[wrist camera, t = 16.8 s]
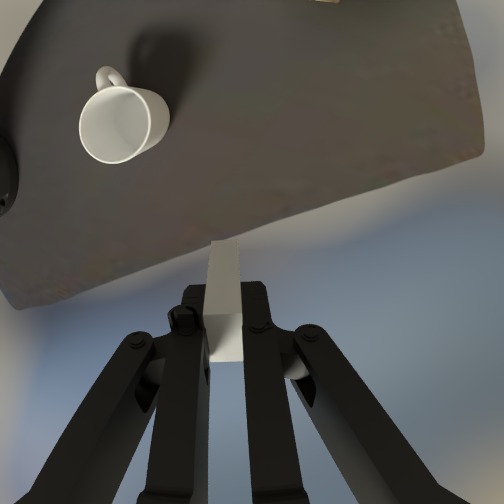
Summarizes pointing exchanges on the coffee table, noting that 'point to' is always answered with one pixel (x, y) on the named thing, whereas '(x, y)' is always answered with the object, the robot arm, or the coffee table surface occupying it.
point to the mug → (121, 119)
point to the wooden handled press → (333, 0)
